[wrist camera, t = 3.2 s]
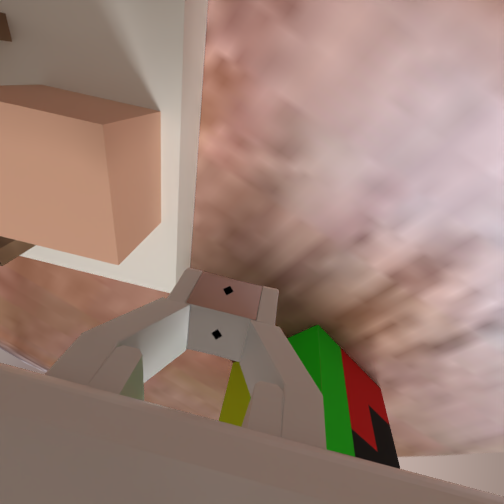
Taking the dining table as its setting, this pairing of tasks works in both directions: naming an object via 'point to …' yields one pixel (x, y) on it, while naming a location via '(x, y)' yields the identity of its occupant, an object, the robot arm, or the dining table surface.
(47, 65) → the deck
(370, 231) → the dining table surface
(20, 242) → the channel walls
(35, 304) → the dining table surface
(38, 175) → the block
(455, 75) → the dining table surface
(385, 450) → the puzzle toy
